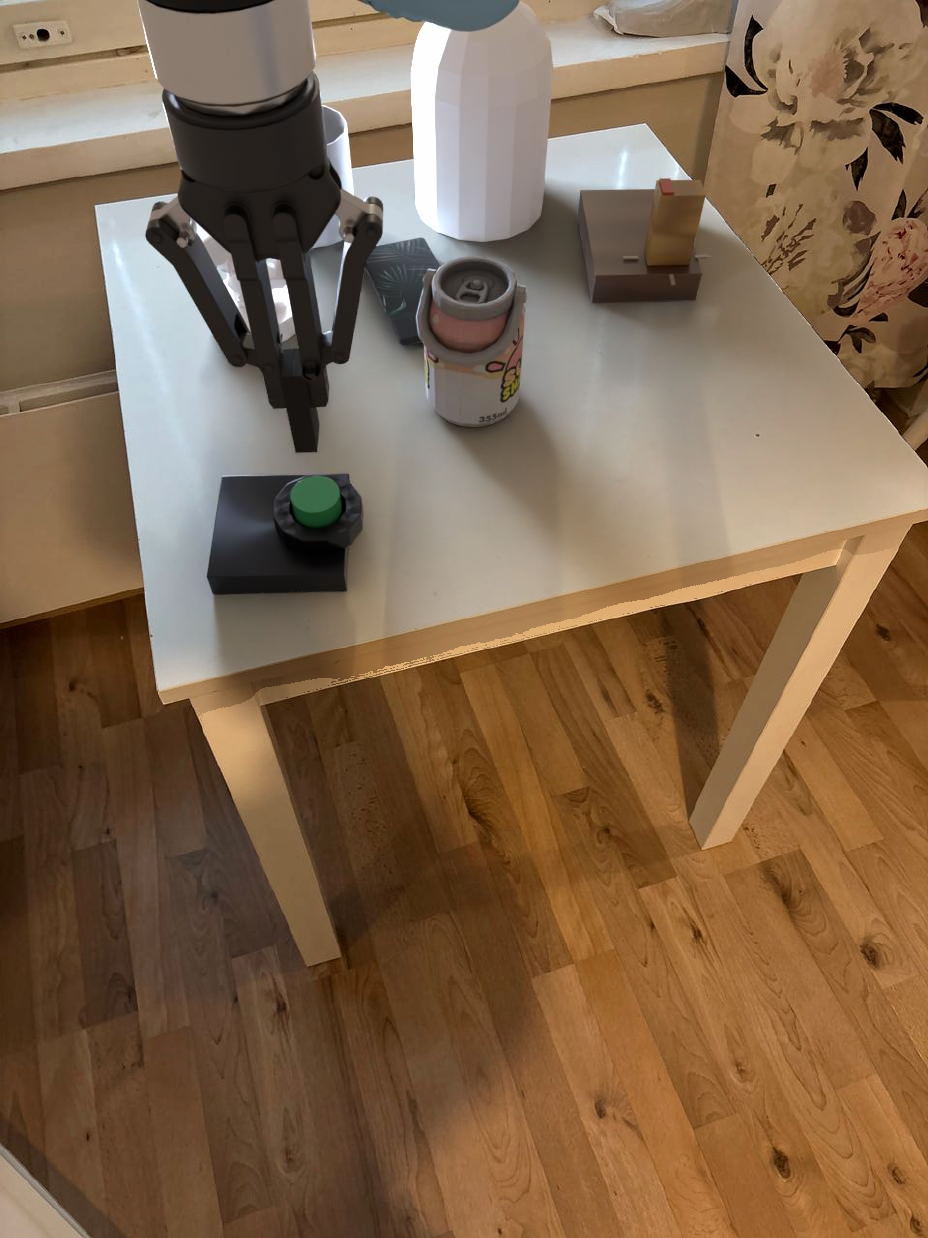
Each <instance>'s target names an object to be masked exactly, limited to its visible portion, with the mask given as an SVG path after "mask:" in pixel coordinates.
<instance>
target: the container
mask: <svg viewBox="0 0 928 1238" xmlns="http://www.w3.org/2000/svg"><path fill="white" fill-rule="evenodd" d="M551 43H552V42H551V40H550V38H549V36H548V35H547V33H546V31H545V30H544V28H543V25H542V24H541V22H540V20H539V18H538V16H537V15H536V13H535V12H534V10H533V9H532V8H531V6H530V5H528V4H526V3H525V2H524V1H522V0H520V1H519V3H518V5H517V7H516V8H515V9H514V10H513V11H512V12H511V13H510V14H509V15H508V16H507V17H505V18H504V19H503V20H501V21H500V22H498V23H496V24H495V25H493V26H491V27H488V28H486V29H482V30H478V31H472V32H463V31H455V30H451V29H448V28H444V27H441V26H438V25H434V24H431V23H427V22H424V24H423V26H422V27H421V29H420V31H419V33H418V36H417V39H416V41H415V45H414V51H413V57H412V66H411V71H410V82H411V107H412V108H411V110H412V133H413V134H412V135H413V161H414V164H413V165H414V184H415V185H414V188H415V207H416V210H417V212H418V214H419V216H420V219H421V221H422V222H424V223H425V224H426V225H427V226H428V227H430V228H431V229H432V230H434V231H435V232H436V233H438V234H441V235H444V236H447V237H451V238H452V239H455V240H458V241H468V242H480V243H487V242H493V241H500V240H507V239H510V238H513V237H516V236H517V235H519V234H521V233H523V232H526V231H528V230H530V229H531V227H533V225H535V223H536V222H537V221H538V220H539V219H540V218H541V217H542V210H543V204H544V203H543V202H544V193H545V191H544V190H545V180H546V168H547V157H548V156H547V155H548V145H549V143H548V142H549V131H550V117H551V104H552V92H553V80H554V71H555V70H554V61H553V53H552V44H551Z"/></svg>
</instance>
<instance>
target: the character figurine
mask: <svg viewBox="0 0 928 1238" xmlns="http://www.w3.org/2000/svg"><path fill="white" fill-rule="evenodd" d="M196 224H197V223H196ZM197 234H198V235H199V237H200V238H201V240H202V242H203V243H204V245H205V247H206V249H207V251H208V253H209V255H210V257H211V259H212V260H213V262H214V264H215V266H216V268H217V269H218V270H220V271H222V272H223V273H226V279H223V281H224V283H225V285H226V287H227V289H228V291H229V293H230V294H231V296H232V298H233V300H234V302H235V304H236V306H237V308H238V310H239V311H240V313H241V315H242V317H243V319H244V321H245V323H246V325H247V327H248V328H249V330H250V326H249V321H248V317H247V312H246V308H245V304H244V299H243V295H242V290H241V286H240V282H239V281H238V280H237V278H236V274H235V269H234V265H233V260H232V256H231V254H230V253H229V252H227V251H226V250H225V249H224V248H223V247H222V246H221V245H220V244H219V243H218V242H216V241H215V240H214V239H213V238H212V237H211V236H210V235H209V234H208V233H207V232H206V231H205V230H204V229H203V228H201V227H200V226H199V225H198V224H197ZM267 260H268V259H266V261H267ZM272 262H273V263H271V262H269V263H268V262H266V263H267V269H268V274H269V279H270V284H271V289H272V294H273V299H274V304H275V310H276V315H277V320H278V325H279V330H280V335H281V334H283V337H282V343H284V342H285V341H287V340H289V339H290V338H291V337H293V336H294V335H296V334H295V328H294V323H293V317H292V312H291V307H290V301H289V296H288V291H287V285H286V280H285V279H284V278H283V273H282V268H281V262H280V260H276V259H273V261H272ZM250 333H251V330H250Z"/></svg>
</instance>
